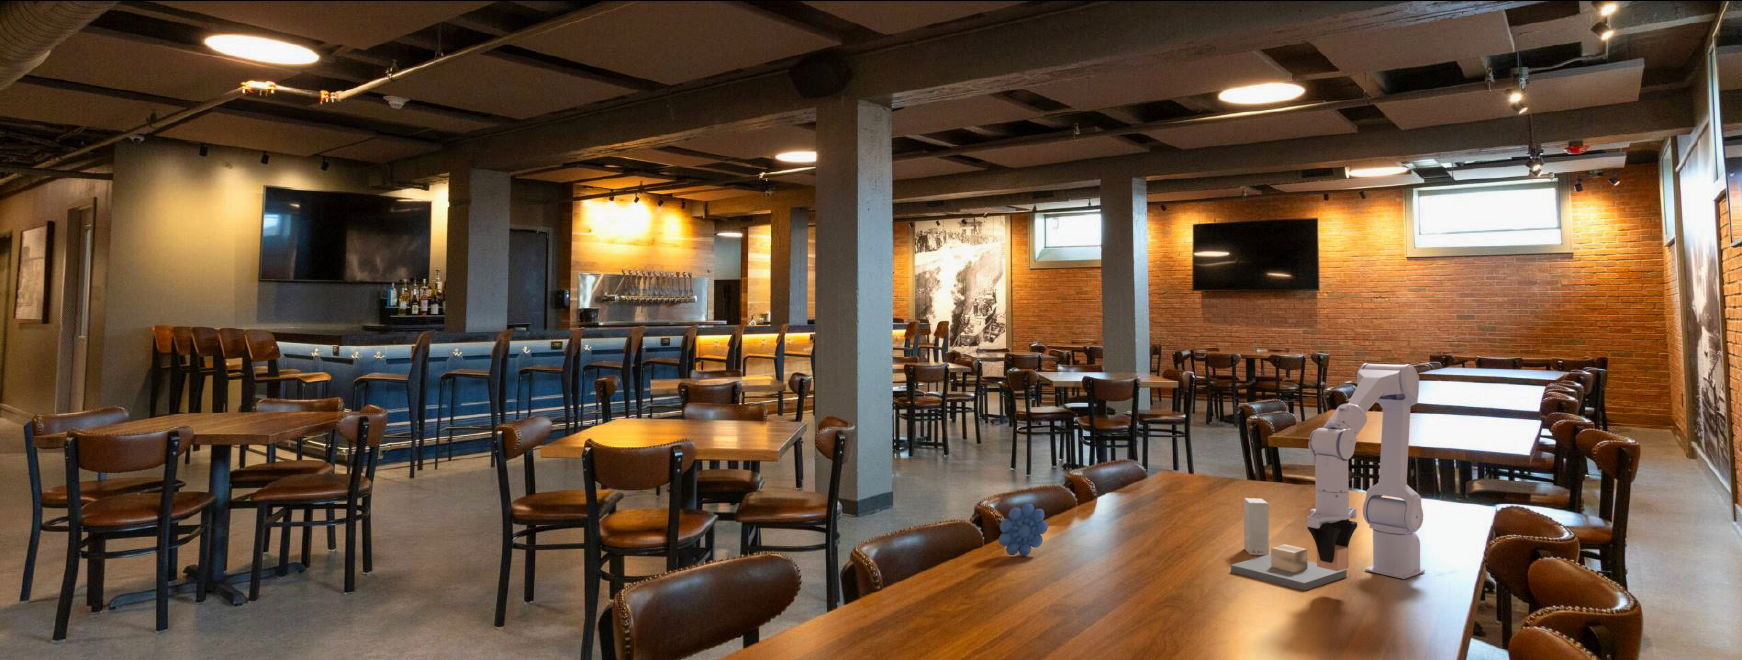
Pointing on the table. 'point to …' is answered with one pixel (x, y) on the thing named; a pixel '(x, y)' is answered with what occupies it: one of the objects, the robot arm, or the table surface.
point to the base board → (1287, 573)
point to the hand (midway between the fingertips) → (1332, 559)
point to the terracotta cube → (1336, 559)
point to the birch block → (1289, 558)
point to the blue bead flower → (1023, 530)
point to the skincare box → (1256, 526)
